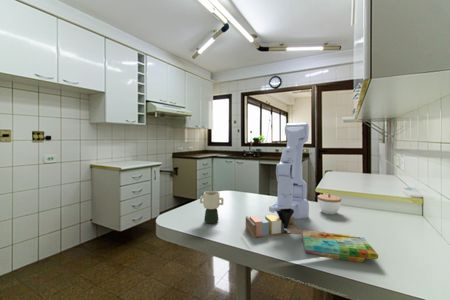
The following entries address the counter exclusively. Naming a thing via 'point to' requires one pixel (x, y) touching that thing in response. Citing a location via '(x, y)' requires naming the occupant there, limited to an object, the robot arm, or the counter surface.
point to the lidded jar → (329, 203)
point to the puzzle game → (338, 246)
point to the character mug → (211, 205)
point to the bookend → (284, 229)
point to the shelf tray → (252, 230)
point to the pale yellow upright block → (274, 224)
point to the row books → (261, 226)
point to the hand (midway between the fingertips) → (284, 227)
